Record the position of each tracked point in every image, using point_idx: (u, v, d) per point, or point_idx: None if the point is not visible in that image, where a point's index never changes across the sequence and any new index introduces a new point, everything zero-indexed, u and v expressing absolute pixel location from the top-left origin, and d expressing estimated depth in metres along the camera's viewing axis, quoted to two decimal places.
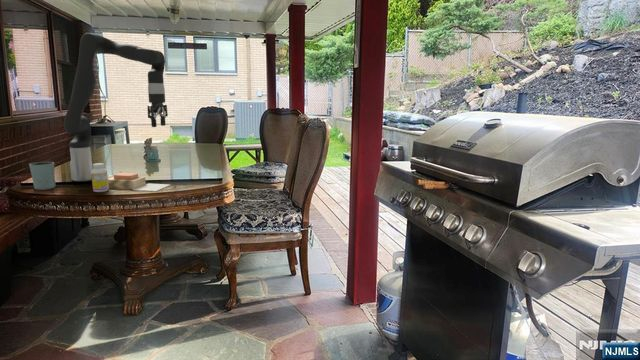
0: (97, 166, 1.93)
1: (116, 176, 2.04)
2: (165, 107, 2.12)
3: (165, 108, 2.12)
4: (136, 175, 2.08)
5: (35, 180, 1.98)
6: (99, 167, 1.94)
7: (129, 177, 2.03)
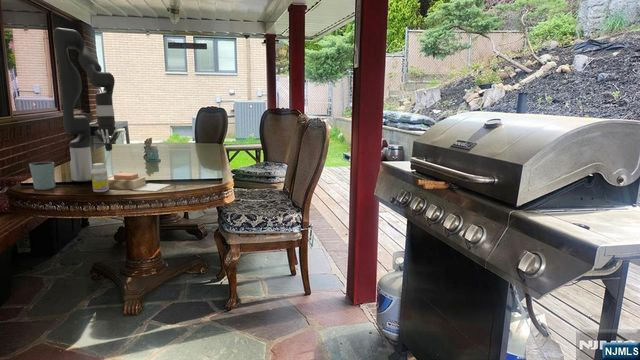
0: (97, 166, 1.93)
1: (116, 176, 2.04)
2: None
3: None
4: (136, 175, 2.08)
5: (35, 180, 1.98)
6: (99, 167, 1.94)
7: (129, 177, 2.03)
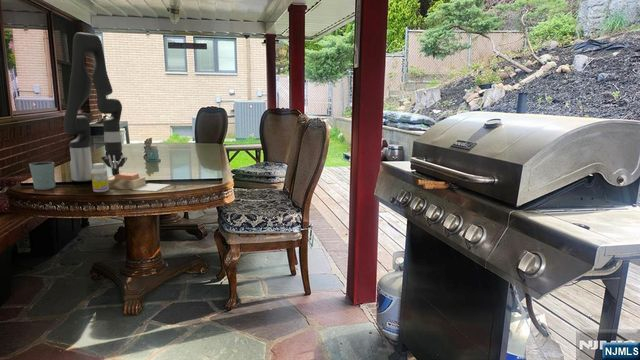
0: (97, 166, 1.93)
1: (117, 176, 2.04)
2: None
3: None
4: (137, 175, 2.08)
5: (35, 180, 1.98)
6: (99, 167, 1.94)
7: (130, 177, 2.03)
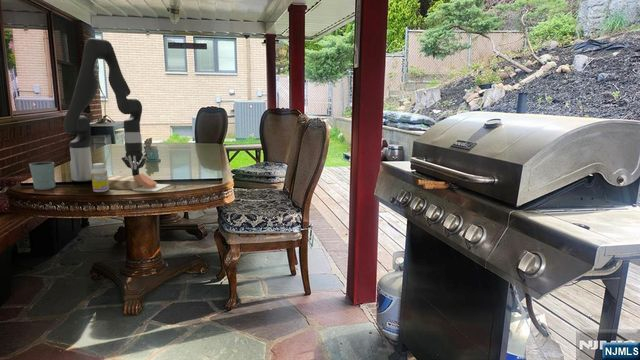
0: (97, 166, 1.93)
1: (136, 178, 2.02)
2: None
3: None
4: (155, 184, 2.06)
5: (35, 180, 1.98)
6: (99, 167, 1.94)
7: (148, 185, 2.02)
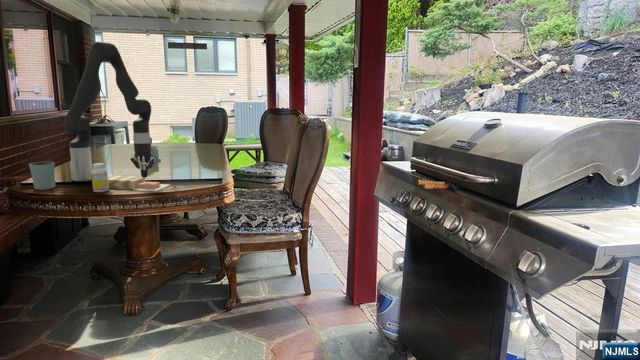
0: (97, 166, 1.93)
1: (138, 185, 2.03)
2: None
3: (136, 160, 2.05)
4: (158, 184, 2.06)
5: (35, 180, 1.98)
6: (99, 167, 1.94)
7: (151, 186, 2.02)
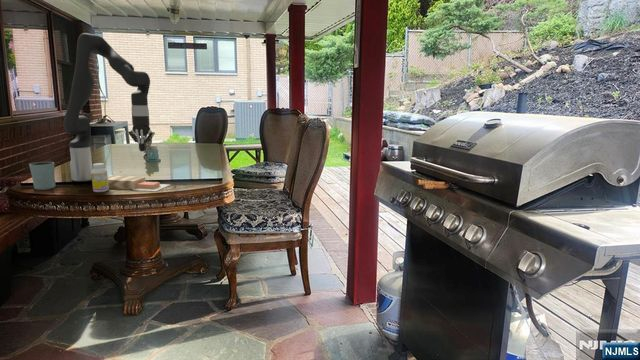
0: (97, 166, 1.93)
1: (138, 185, 2.03)
2: None
3: None
4: (158, 184, 2.06)
5: (35, 180, 1.98)
6: (99, 167, 1.94)
7: (151, 186, 2.02)
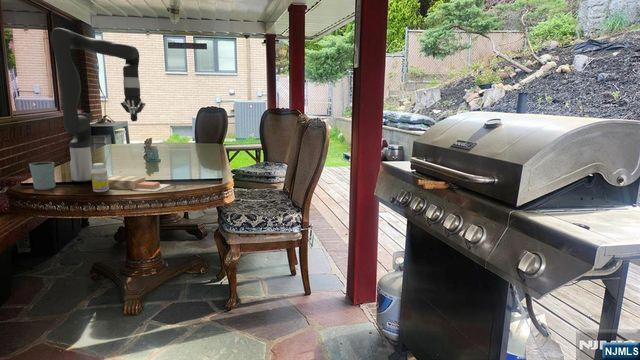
0: (97, 166, 1.93)
1: (138, 185, 2.03)
2: None
3: (126, 104, 2.16)
4: (158, 184, 2.06)
5: (35, 180, 1.98)
6: (99, 167, 1.94)
7: (151, 186, 2.02)
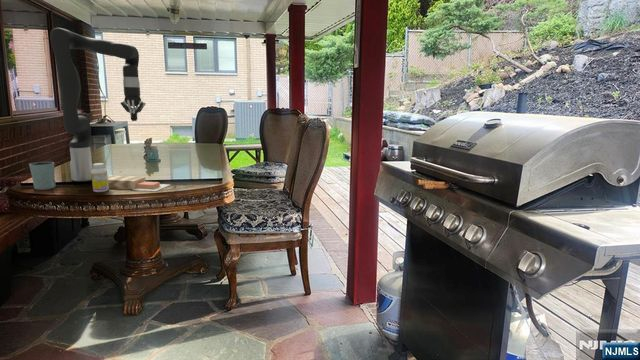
0: (97, 166, 1.93)
1: (138, 185, 2.03)
2: None
3: None
4: (158, 184, 2.06)
5: (35, 180, 1.98)
6: (99, 167, 1.94)
7: (151, 186, 2.02)
